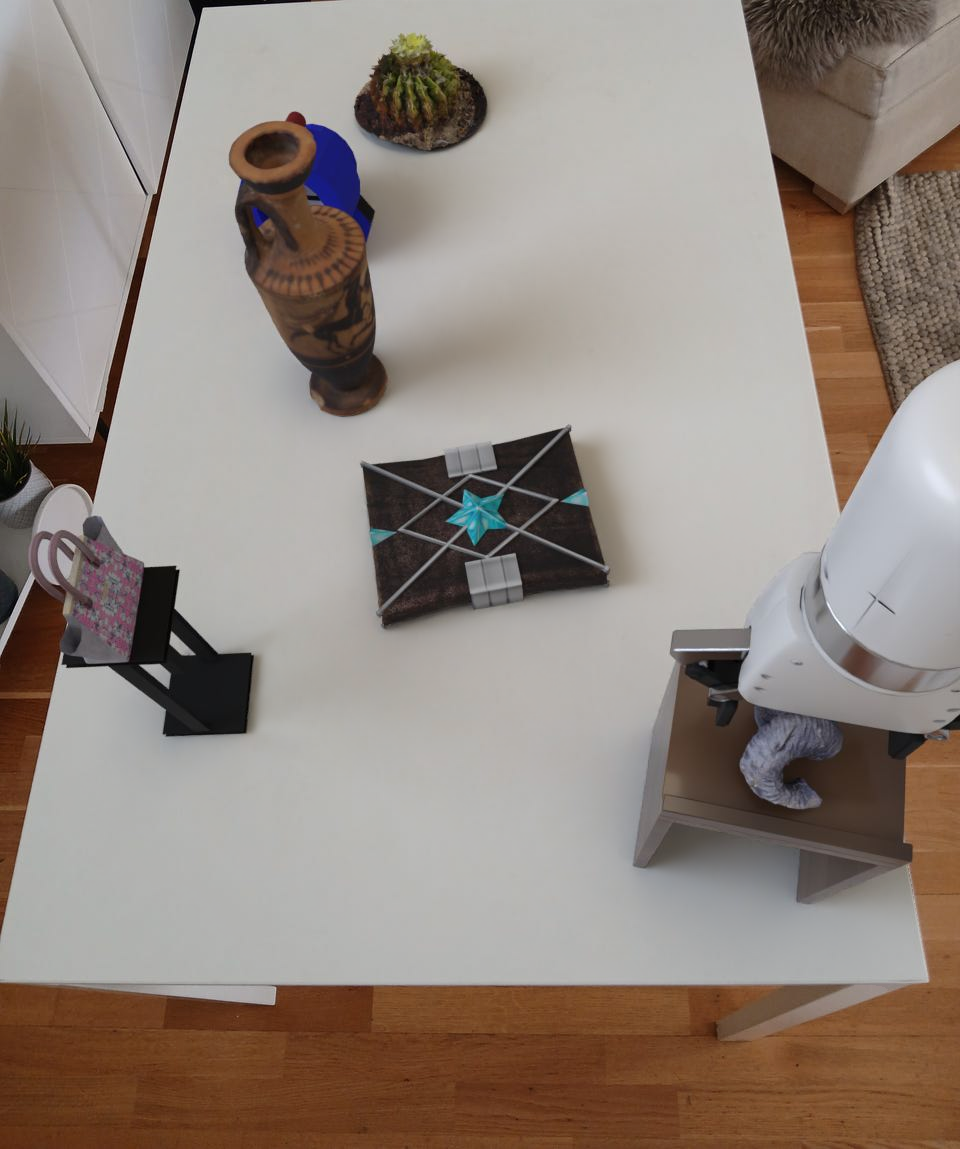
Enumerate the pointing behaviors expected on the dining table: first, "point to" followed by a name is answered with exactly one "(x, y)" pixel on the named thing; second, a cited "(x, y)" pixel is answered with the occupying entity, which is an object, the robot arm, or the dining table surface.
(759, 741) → the seashell
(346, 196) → the alarm clock
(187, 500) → the dining table surface
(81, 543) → the handbag
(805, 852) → the shelf
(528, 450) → the book
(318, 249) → the vase
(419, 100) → the cactus
